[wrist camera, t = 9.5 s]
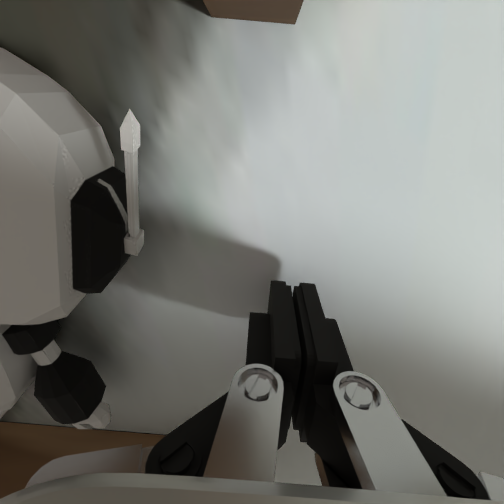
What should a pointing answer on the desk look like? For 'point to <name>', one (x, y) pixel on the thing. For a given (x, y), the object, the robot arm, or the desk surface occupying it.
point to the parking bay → (88, 440)
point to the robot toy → (57, 236)
